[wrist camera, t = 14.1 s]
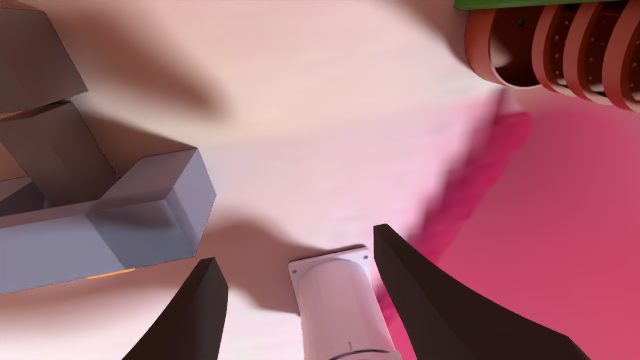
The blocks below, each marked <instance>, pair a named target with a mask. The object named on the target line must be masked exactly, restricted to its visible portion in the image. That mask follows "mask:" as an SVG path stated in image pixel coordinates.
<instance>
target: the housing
mask: <svg viewBox="0 0 640 360" xmlns="http://www.w3.org/2000/svg"><path fill="white" fill-rule="evenodd" d="M215 197H216V193H215V191H214V188H213V186H212V183H211V180H210V178H209V175H208V173H207V170H206V168H205V165H204V163H203V160H202V157H201V155H200V152H199V150H198V148H196V149H190V150H184V151H178V152H172V153H166V154H160V155H154V156H148V157H142V158H141V159H140V160H139V161H138V162H137V163H136V164H135V165H134V166H133V167H132V168H131V169H130V170H129V171H128V172H127V173H126V174H124V175H123V176H122V177H121V178H120V179H119V180H118V181H117V182H116V183H115V184H114V185H113V186H112V187H111V188H110V189H109V190H108V191H107V192H106V193H105V194H104V195H103V196H102V197H101V198H100V199H99V200H95V201H89V202H83V203H78V204H72V205H66V206H60V207H55V208H54V207H53V206H52V204H51V203H50V202H49V201H48V199H47V198H46V197H45V196H44V194H43V193H42V192H41V191H40V190H39V188H38V187H37V186H36V185H35V183H34V182H33V181H32V180H31V178H30V177H29V176H28V177H22V178H16V179H9V180H3V181H0V294H5V293H10V292H15V291H21V290H26V289H31V288H36V287H41V286H46V285H51V284H57V283H62V282H67V281H72V280H77V279H82V278H88V277H93V276H98V275H103V274H108V273H113V272H119V271H124V270H129V269H134V268H139V267H144V266H149V265H155V264H160V263H165V262H170V261H175V260H180V259H186V258H191V257H195V255H196V252H197V249H198V246H199V243H200V240H201V238H202V235H203V232H204V229H205V226H206V223H207V220H208V217H209V215H210V212H211V209H212V206H213V203H214V200H215Z"/></svg>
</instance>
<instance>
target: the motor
mask: <svg viewBox="0 0 640 360" xmlns="http://www.w3.org/2000/svg"><path fill="white" fill-rule="evenodd" d="M454 8H457V9H460V10H471V12H470V15H469V18H468V21H467V26H466V32H465V51H466V56H467V59H468V62H469V64H470V66H471V68H472V69H473V71H474V72H475V73H476V74H477V75H478V76H479V77H481V78H482V79H484V80H487V81H490V82H493V83H497V84H501V85H504V86H508V87H512V88H515V89H532V88H536V87H540V86H544V87H545V88H547V89H548V90H550V91H552V92H555V93H559V94H563V95H567V96H577V97H579V98H581V99H584V100H587V101H591V102H596V103H599V104H604V105H615V106H616V107H618V108H620V109H623V110H627V111H631V112H635V113H639V114H640V0H456V2H455V4H454ZM523 16H524V17H525V23H524V24H523V25H522V26H521V27H519V26H518V21H519V19H520V18H521V17H523Z"/></svg>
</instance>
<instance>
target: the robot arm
mask: <svg viewBox="0 0 640 360" xmlns="http://www.w3.org/2000/svg"><path fill="white" fill-rule="evenodd" d="M373 231H374V259H375V262H376V265H377V268H378V271H379V273H380V276H381V279H382V281H383V283H384V285H385V287H386V289H387V291H388V294H389V296H390V298H391V300H392V302H393V304H394V306H395V308H396V310H397V312H398V314H399V316H400V318H401V320H402V322H403V324H404V327H405V329H406V331H407V334H408V336H409V339H410V341H411V344H412V346H413V349H414V352H415V354H416V357H417V360H591V359H590V358H589V357H588V356H587V355H586V354H585V353H584V352H583V351H582V350H581V349H580V348H579V347H578V346H577V345H576V344H575V343H574V342H573V341H572V340H571V339H570V338H569V337H568V336H565V335H563V334H561V333H558V332H556V331H554V330H552V329H549V328H547V327H545V326H542V325H540V324H538V323H535V322H533V321H531V320H529V319H526V318H524V317H522V316H520V315H518V314H516V313H514V312H512V311H510V310H508V309H506V308H504V307H502V306H500V305H498V304H497V303H494V302H493V301H491V300H489V299H488V298H486V297H484V296H482V295H480V294H479V293H477V292H475V291H473V290H472V289H470V288H468V287H467V286H465V285H464V284H462V283H460V282H459V281H457V280H456V279H454V278H453V277H451V276H450V275H448V274H447V273H446V272H444V271H443V270H441V269H440V268H439V267H437V266H436V265H435V264H433V263H432V262H431V261H429V260H428V259H427V258H426V257H424V256H423V255H422V254H421V253H419V252H418V251H417V250H416V249H415V248H413V247H412V246H411V245H410V244H409V243H408V242H406V241H405V240H404V239H403V238H402V237H401V236H400V235H399V234H398V233H396V232H395V231H394V230H393V229H392V228H391V227H390V226H389V225H388V224H381V225H376V226H373ZM365 255H366V256H365ZM288 269H289V273H290V277H291V281H292V284H293V288H294V292H295V296H296V299H297V303H298V307H299V311H300V314H301V325H302V336H303V347H304V358H305V360H402V357H401V355H400V352H399V351H396V350H395V347H394V345H393V342H392V339H391V337H390V334H389V331H388V329H387V326H386V323H385V321H384V318H383V315H382V313H381V310H380V307H379V305H378V302H377V299H376V297H375V294H374V291H373V289H372V286H371V256H370V250H369V248H367V247H363V248H358V249H353V250H348V251H343V252H338V253H333V254H328V255H323V256H318V257H313V258H308V259H303V260H298V261H293V262H290V263H289V265H288ZM227 302H228V285H227V283H226V281H225V279H224V277H223V274H222V272H221V270H220V268H219V266H218V264H217V261H216V259H215V257H212V258H207V259H202V260H200V261H199V262H198V264H197V265H196V266H195V268H194V269H193V271H192V272H191V274H190V275H189V276H188V278H187V279H186V281H185V282H184V283H183V285H182V286H181V288H180V289H179V290H178V292H177V293H176V294H175V296H174V297H173V299H172V300H171V301H170V303H169V304H168V305H167V307H166V308H165V309H164V311H163V312H162V313H161V314H160V316H159V317H158V318H157V319H156V321H155V322H154V323H153V324H152V326H151V327H150V328H149V329H148V331H147V332H146V333H145V334H144V335H143V337H142V338H141V339H140V340H139V341H138V342H137V343H136V344H135V346H134V347H133V348H132V349H131V350H130V351H129V352H128V353H127V354H126V356H125V357H124V358H123V359H122V360H217V358H218V353H219V348H220V343H221V338H222V333H223V328H224V323H225V317H226V312H227Z"/></svg>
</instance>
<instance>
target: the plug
mask: <svg viewBox="0 0 640 360" xmlns="http://www.w3.org/2000/svg"><path fill="white" fill-rule="evenodd" d="M86 91H88V89H87V87H86V85H85V84H84V82H83V80H82V78H81V76H80V75H79V73H78V71H77V69H76V67H75V66H74V64H73V62H72V60H71V58H70V57H69V55H68V53H67V51H66V49H65V48H64V46H63V44H62V42H61V40H60V39H59V37H58V35H57V33H56V31H55V30H54V28H53V26H52V24H51V22H50V21H49V19H48V17H47V15H46V14H45V12H44V11H33V10H19V9H6V8H0V113H7V112H13V111H20V110H27V109H31V110H28V111H25V112H22V113H19V114H16V115H13V116H10V117H7V118H4V119H1V120H0V141H1V142H2V143H3V145H4V146H5V147H6V148H7V150H8V151H9V152H10V153H11V155H12V156H13V157H14V158H15V160H16V161H17V162H18V163H19V165H20V166H21V167H22V168H23V170H24V171H25V172H26V173H27V175H28V176H29V177H30V178H31V180H32V181H33V182H34V183H35V185H36V186H37V187H38V188H39V190H40V191H41V192H42V193H43V194H44V196H45V197H46V198H47V199H48V201H49V202H50V203H51V204H52V206H53V207H54V208H55V207H60V206H66V205H72V204H78V203H83V202H89V201H95V200H99V199H100V198H101V197H102V196H103V195H104V194H105V193H106V192H107V191H108V190H109V189H110V188H111V187H112V186H113V185H114V184H115V183H116V182H117V181H118V180H119V179H118V177H117V176H116V174H115V172H114V171H113V169H112V167H111V166H110V164H109V162H108V161H107V159H106V157H105V156H104V154H103V152H102V151H101V149H100V147H99V146H98V144H97V142H96V141H95V139H94V137H93V136H92V134H91V132H90V131H89V129H88V127H87V126H86V124H85V122H84V121H83V119H82V117H81V116H80V114H79V112H78V111H77V109H76V107H75V106H74V104H73V102H70V103H63V104H57V105H50V106H44V105H47V104H50V103H53V102H56V101H59V100H62V99H65V98H68V97H71V96H74V95H77V94H80V93H83V92H86ZM41 106H43V107H41ZM33 108H34V109H33ZM133 270H135V268H134V269H129V270H124V271H119V272H113V273H108V274H103V275H98V276H93V277H88V279H92V278H97V277H102V276H108V275H113V274H118V273H123V272H128V271H133Z"/></svg>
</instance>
